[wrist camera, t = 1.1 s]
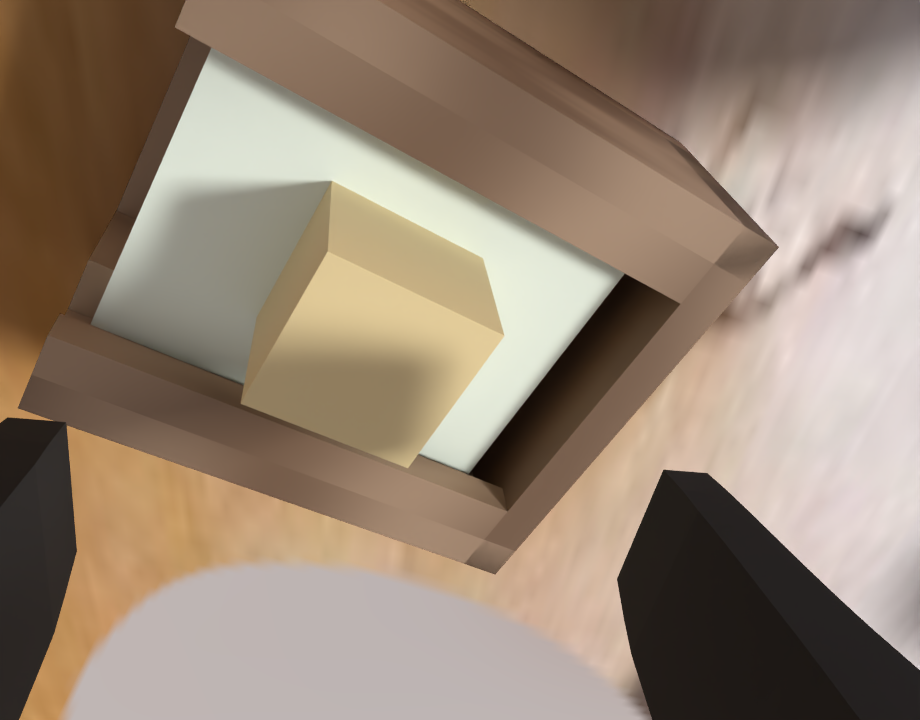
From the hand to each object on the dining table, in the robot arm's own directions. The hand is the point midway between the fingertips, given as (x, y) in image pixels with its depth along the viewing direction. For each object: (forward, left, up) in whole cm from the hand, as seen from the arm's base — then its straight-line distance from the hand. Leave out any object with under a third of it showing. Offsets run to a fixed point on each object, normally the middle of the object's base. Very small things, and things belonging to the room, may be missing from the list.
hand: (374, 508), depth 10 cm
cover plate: (0, 0, -7) cm, 7 cm away
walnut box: (-1, 0, -10) cm, 10 cm away
